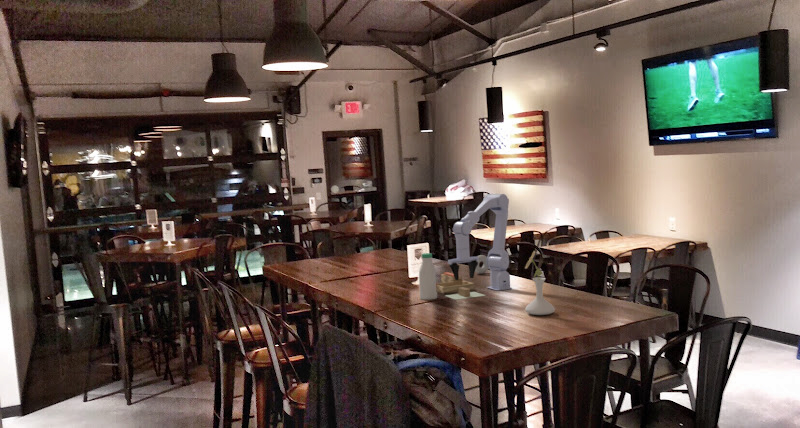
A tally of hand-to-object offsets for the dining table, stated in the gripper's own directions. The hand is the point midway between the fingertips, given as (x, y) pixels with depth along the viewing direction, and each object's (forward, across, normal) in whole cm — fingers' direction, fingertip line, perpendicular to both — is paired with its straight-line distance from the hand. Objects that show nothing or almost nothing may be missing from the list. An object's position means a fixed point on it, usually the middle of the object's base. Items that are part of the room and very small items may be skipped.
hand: (464, 278), depth 302 cm
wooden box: (+8, -2, -15) cm, 17 cm away
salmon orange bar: (+4, -8, -28) cm, 29 cm away
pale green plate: (+8, 0, 0) cm, 8 cm away
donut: (+8, -36, -46) cm, 59 cm away
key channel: (+8, -8, -27) cm, 29 cm away
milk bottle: (+8, +16, -5) cm, 18 cm away
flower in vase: (+8, -5, +48) cm, 49 cm away
